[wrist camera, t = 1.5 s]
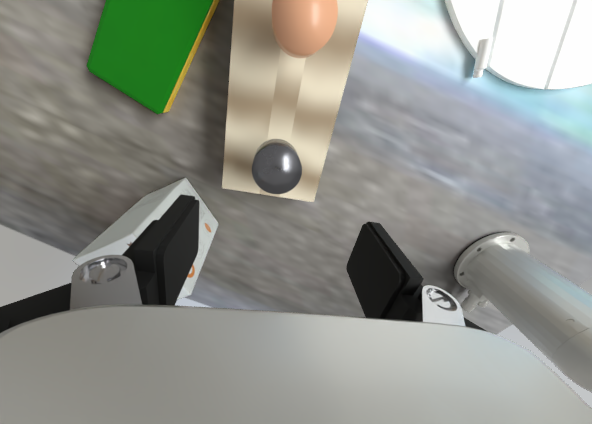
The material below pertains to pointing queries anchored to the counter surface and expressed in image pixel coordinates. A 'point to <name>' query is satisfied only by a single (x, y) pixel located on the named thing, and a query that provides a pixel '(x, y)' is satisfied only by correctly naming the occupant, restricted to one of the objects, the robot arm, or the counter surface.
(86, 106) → the counter surface
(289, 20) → the middle knob
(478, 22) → the lazy susan
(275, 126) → the knob mount
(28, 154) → the counter surface
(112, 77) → the dish sponge
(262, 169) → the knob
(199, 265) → the small box
